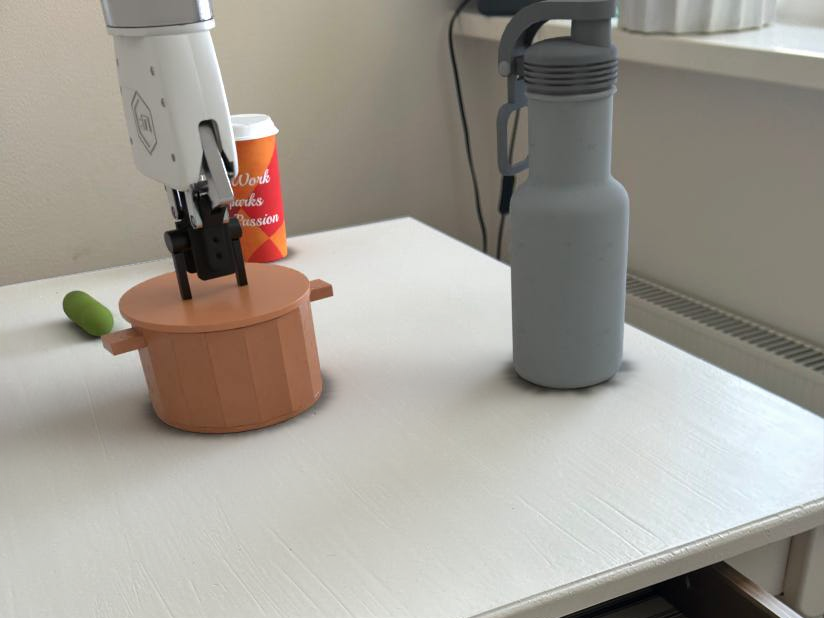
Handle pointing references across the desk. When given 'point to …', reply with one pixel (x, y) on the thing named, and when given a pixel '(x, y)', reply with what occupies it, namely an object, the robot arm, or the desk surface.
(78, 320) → the pickle
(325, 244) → the desk surface
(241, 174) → the coffee cup
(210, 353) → the pot
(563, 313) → the water bottle
